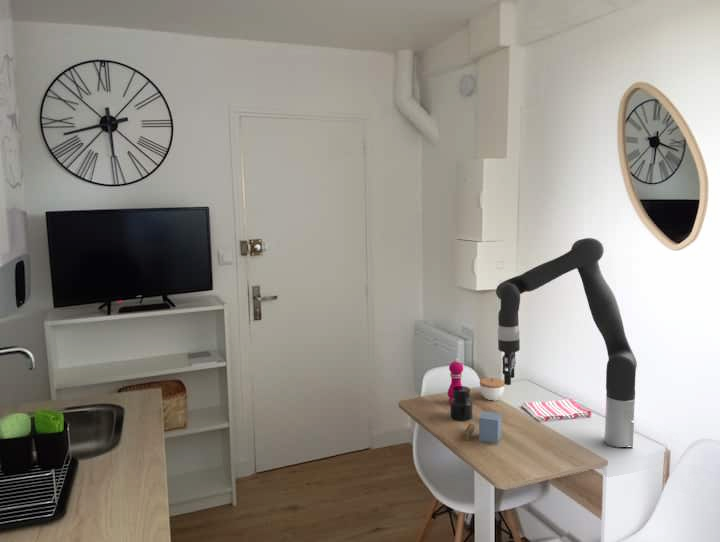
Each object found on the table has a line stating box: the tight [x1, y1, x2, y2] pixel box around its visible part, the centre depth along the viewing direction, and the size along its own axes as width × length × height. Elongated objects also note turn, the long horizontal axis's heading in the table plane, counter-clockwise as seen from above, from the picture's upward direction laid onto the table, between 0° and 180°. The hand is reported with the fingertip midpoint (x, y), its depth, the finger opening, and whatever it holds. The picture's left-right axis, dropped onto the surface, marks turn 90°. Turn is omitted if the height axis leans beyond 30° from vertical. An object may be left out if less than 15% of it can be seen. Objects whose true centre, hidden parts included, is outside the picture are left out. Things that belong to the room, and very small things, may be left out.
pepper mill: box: [447, 358, 464, 405], centre depth 241 cm, size 7×7×20 cm
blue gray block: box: [478, 411, 503, 445], centre depth 206 cm, size 7×7×9 cm
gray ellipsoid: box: [482, 437, 502, 444], centre depth 207 cm, size 8×8×1 cm
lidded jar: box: [479, 377, 505, 402], centre depth 247 cm, size 11×11×9 cm
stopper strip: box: [462, 423, 476, 442], centre depth 210 cm, size 2×10×2 cm, turn 155°
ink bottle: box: [449, 385, 474, 422], centre depth 227 cm, size 10×9×12 cm
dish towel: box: [521, 398, 593, 423], centre depth 231 cm, size 17×23×4 cm
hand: (509, 381), depth 204 cm, fingers open, 8 cm apart
